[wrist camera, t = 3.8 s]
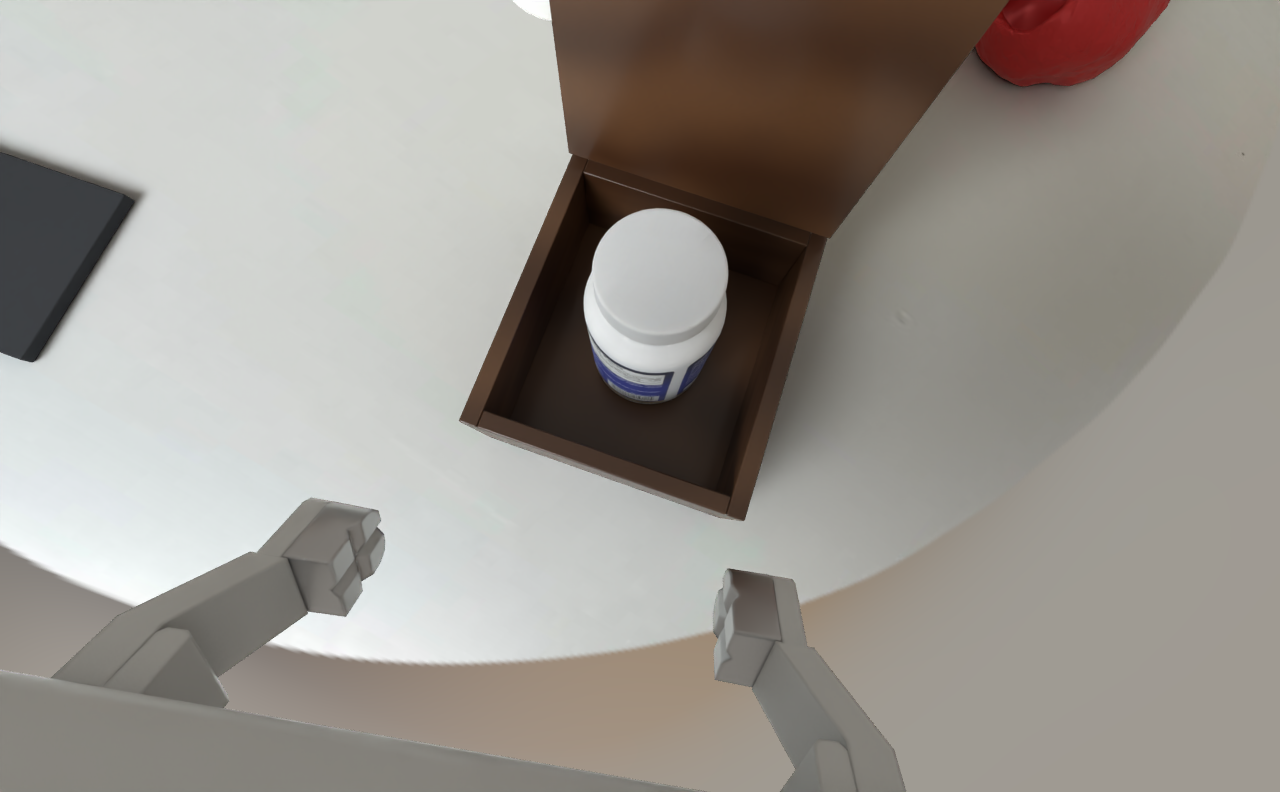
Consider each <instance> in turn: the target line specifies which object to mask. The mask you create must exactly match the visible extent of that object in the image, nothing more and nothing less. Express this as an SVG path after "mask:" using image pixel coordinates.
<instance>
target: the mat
mask: <svg viewBox="0 0 1280 792" xmlns="http://www.w3.org/2000/svg"><path fill="white" fill-rule="evenodd" d="M133 202H134V200H133V199H131V198H130V197H128V196H126V195H124V194H121V193H118V192H116V191H113V190H110V189H107V188H104V187H101V186H98V185H95V184H92V183H89V182H86V181H83V180H81V179H78V178H75V177H72V176H69V175H66V174H63V173H60V172H57V171H54V170H51V169H48V168H46V167H43V166H40V165H37V164H34V163H31V162H28V161H25V160H22V159H19V158H16V157H14V156H11V155H8V154H5V153H2V152H0V352H1V353H3V354H6V355H9V356H12V357H15V358H17V359H20V360H24V361H28V362H34V361H35V359H36V357H37V356H38V354H39V353H40V351H41V349H42V348H43V346H44V345H45V343H46V341H47V340H48V338H49V337H50V335H51V333H52V332H53V330H54V329H55V327H56V325H57V324H58V322H59V321H60V319H61V317H62V316H63V314H64V313H65V311H66V309H67V308H68V306H69V305H70V303H71V302H72V300H73V298H74V297H75V295H76V294H77V292H78V290H79V289H80V287H81V286H82V284H83V282H84V281H85V279H86V278H87V276H88V274H89V273H90V271H91V270H92V268H93V266H94V265H95V263H96V262H97V260H98V258H99V257H100V255H101V254H102V252H103V250H104V249H105V247H106V246H107V244H108V242H109V241H110V239H111V238H112V236H113V234H114V233H115V231H116V230H117V228H118V226H119V225H120V223H121V222H122V220H123V218H124V217H125V215H126V214H127V212H128V210H129V209H130V207H131V206H132V204H133Z"/></svg>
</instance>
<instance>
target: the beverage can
mask: <svg viewBox="0 0 1280 792" xmlns="http://www.w3.org/2000/svg"><path fill="white" fill-rule="evenodd" d="M513 1H514V2H515V3H516V4H517V5H518V6H519V7H520V8H521V9H523V10H524V11H526V12H527V13H529V14H531V15H533V16H535V17H538V18H540V19H543V20H547V21H552V19H551V11H550V4H549V0H513Z"/></svg>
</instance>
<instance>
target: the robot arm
mask: <svg viewBox="0 0 1280 792" xmlns="http://www.w3.org/2000/svg"><path fill="white" fill-rule="evenodd" d="M380 521H381V518H380V515H379V511H378V510H374V509H369V508H364V507H359V506H354V505H349V504H344V503H338V502H333V501H328V500H322V499H317V498H309V499H308V500H306V501H304V502H303V503H302V504H301V505H300V506H299V507H298V508H297V509H296V510H295V511H294V512H293V513H292V515H291V516H290V517H289V518H288V519H287V520H286V521H285V522H284V523H283V524H282V525H281V527H280V528H279V529H278V530H277V531H276V532H275V533H274V534H273V535H272V536H271V537H270V539H269V540H268V541H267V542H266V543H265V544H264V545H263V546H262V547H261V548H260V549H259V551H258V552H257V553H255V552H248V553H246V554H244V555H242V556H240V557H238V558H236V559H234V560H232V561H230V562H228V563H226V564H223V565H221V566H219V567H217V568H215V569H213V570H211V571H209V572H207V573H205V574H203V575H201V576H198V577H196V578H194V579H192V580H190V581H188V582H186V583H184V584H182V585H180V586H178V587H176V588H174V589H171V590H169V591H167V592H165V593H163V594H161V595H159V596H157V597H155V598H153V599H151V600H149V601H147V602H144V603H142V604H140V605H138V606H136V607H134V608H132V609H130V610H128V611H126V612H124V613H122V614H120V615H117V616H116V617H115V618H114V619H113V620H112V621H111V622H110V623H109V624H108V625H107V626H106V627H104V628H103V629H102V630H101V631H100V632H99V633H98V634H97V635H96V636H95V637H94V638H93V639H92V640H91V641H90V642H88V643H87V644H86V645H85V646H84V647H83V648H82V649H81V650H80V651H79V652H78V653H77V654H76V655H75V656H74V657H73V658H72V659H70V660H69V661H68V662H67V663H66V664H65V665H64V666H63V667H62V668H61V669H60V670H59V671H58V672H57V673H55V674H54V675H53V676H52V677H51V678H46V677H40V676H35V675H29V674H23V673H17V672H11V671H5V670H0V792H705V791H699V790H694V789H688V788H682V787H677V786H670V785H665V784H659V783H654V782H648V781H642V780H636V779H630V778H625V777H618V776H613V775H607V774H601V773H595V772H590V771H584V770H578V769H573V768H567V767H561V766H555V765H550V764H544V763H538V762H532V761H526V760H521V759H515V758H509V757H503V756H498V755H492V754H486V753H480V752H474V751H469V750H463V749H457V748H451V747H446V746H440V745H434V744H428V743H422V742H417V741H411V740H405V739H400V738H394V737H388V736H382V735H376V734H370V733H365V732H358V731H353V730H347V729H342V728H336V727H330V726H324V725H318V724H312V723H307V722H301V721H295V720H289V719H283V718H278V717H272V716H266V715H260V714H255V713H249V712H243V711H237V710H232V709H226V708H224V707H225V706H226V704H227V703H228V701H229V700H228V694H227V692H226V691H225V689H224V687H223V686H222V684H221V682H220V681H219V679H218V677H219V676H220V675H222V674H223V673H225V672H226V671H228V670H229V669H231V668H232V667H233V666H235V665H236V664H237V663H239V662H240V661H242V660H243V659H245V658H246V657H247V656H249V655H250V654H252V653H253V652H254V651H256V650H257V649H259V648H260V647H261V646H263V645H264V644H266V643H267V642H269V641H270V640H271V639H273V638H274V637H276V636H277V635H278V634H280V633H281V632H283V631H284V630H285V629H287V628H288V627H290V626H291V625H292V624H294V623H295V622H297V621H298V620H300V619H301V618H302V617H304V616H305V615H307V614H308V612H307V611H309V612H316V613H323V614H330V615H337V616H344V617H346V616H347V614H348V613H349V611H350V610H351V608H352V607H353V605H354V603H355V602H356V600H357V599H358V597H359V596H360V594H361V593H362V591H363V590H362V583H361V581H363V580H364V579H366V578H368V577H369V576H371V575H373V574H374V572H375V571H376V569H377V567H378V566H379V564H380V562H381V559H382V556H383V554H384V551H385V537H384V534H383V533H382V532H381V531H380V530H379V529H378V528H377V526H378V524H379V523H380ZM713 632H714V634H715V635H716V637H717V638H718V641H717V643H716V646H715V649H714V671H715V680H718V681H723V682H728V683H733V684H738V685H744V686H748V687H753V688H752V690H753V692H754V694H755V696H756V698H757V699H758V701H759V703H760V705H761V707H762V709H763V711H764V712H765V714H766V716H767V718H768V720H769V722H770V723H771V725H772V727H773V729H774V731H775V733H776V734H777V736H778V738H779V740H780V742H781V744H782V745H783V747H784V749H785V751H786V753H787V754H788V756H789V758H790V760H791V762H792V764H793V765H794V767H795V769H796V770H795V771H794V773H793V774H792V776H791V777H790V778H789V780H788V781H787V783H786V784H785V786H784V787H783V788H782V790H781V791H780V792H906V790H905V786H904V782H903V779H902V775H901V772H900V769H899V765H898V761H897V758H896V754H895V751H894V749H893V748H892V747H891V745H890V744H889V743H888V741H887V740H886V739H885V738H884V736H883V735H882V734H881V732H880V731H879V730H878V729H877V728H876V726H875V725H874V724H873V722H872V721H871V720H870V718H869V717H868V716H867V715H866V713H865V712H864V711H863V710H862V708H861V707H860V706H859V704H858V703H857V702H856V701H855V699H854V698H853V697H852V696H851V694H850V693H849V692H848V690H847V689H846V688H845V687H844V685H843V684H842V683H841V682H840V681H839V679H838V678H837V677H836V675H835V674H834V673H833V671H832V670H831V669H830V668H829V666H828V665H827V664H826V662H825V661H824V660H823V659H822V657H821V656H820V655H819V654H818V652H817V651H816V650H815V649H814V648H812V647H808V646H807V642H806V636H805V631H804V626H803V621H802V616H801V611H800V605H799V600H798V595H797V590H796V585H795V582H794V581H793V579H788V578H782V577H776V576H770V575H767V574H760V573H754V572H748V571H741V570H735V569H727V570H726V571H725V574H724V576H723V588H722V589H720V590H719V591H718V594H717V597H716V601H715V607H714V615H713Z"/></svg>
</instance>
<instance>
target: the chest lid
mask: <svg viewBox="0 0 1280 792" xmlns="http://www.w3.org/2000/svg"><path fill="white" fill-rule="evenodd" d="M1008 2H1009V0H549V4H550V11H551V19H552V27H553V34H554V42H555V50H556V57H557V65H558V73H559V80H560V88H561V96H562V103H563V111H564V119H565V126H566V134H567V142H568V149H569V153H571V154H574V155H577V156H580V157H583V158H586V159H589V160H592V161H595V162H598V163H601V164H604V165H607V166H610V167H613V168H616V169H619V170H622V171H625V172H629V173H632V174H635V175H638V176H641V177H644V178H647V179H650V180H653V181H656V182H659V183H662V184H665V185H668V186H671V187H674V188H677V189H680V190H683V191H686V192H690V193H693V194H696V195H699V196H702V197H705V198H708V199H711V200H714V201H717V202H720V203H723V204H726V205H729V206H732V207H735V208H738V209H741V210H744V211H747V212H750V213H754V214H757V215H760V216H763V217H766V218H769V219H772V220H775V221H778V222H781V223H784V224H787V225H790V226H793V227H796V228H799V229H802V230H805V231H808V232H811V233H814V234H818V235H821V236H824V237H827V238H831V237H832V235H833V234H834V233H835V231H836V230H837V229H838V227H839V226H840V225H841V223H842V222H843V221H844V219H845V218H846V217H847V215H848V214H849V213H850V211H851V210H852V209H853V207H854V206H855V205H856V203H857V202H858V201H859V199H860V198H861V197H862V195H863V194H864V193H865V191H866V190H867V189H868V187H869V186H870V185H871V183H872V182H873V181H874V179H875V178H876V177H877V175H878V174H879V173H880V171H881V170H882V169H883V168H884V166H885V165H886V164H887V162H888V161H889V160H890V158H891V157H892V156H893V154H894V153H895V152H896V150H897V149H898V148H899V146H900V145H901V144H902V142H903V141H904V140H905V138H906V137H907V136H908V134H909V133H910V132H911V130H912V129H913V128H914V126H915V125H916V124H917V122H918V121H919V120H920V118H921V117H922V116H923V114H924V113H925V112H926V110H927V109H928V108H929V106H930V105H931V104H932V102H933V101H934V100H935V98H936V97H937V96H938V94H939V93H940V92H941V90H942V89H943V88H944V87H945V85H946V84H947V83H948V81H949V80H950V79H951V77H952V76H953V75H954V73H955V72H956V71H957V69H958V68H959V67H960V65H961V64H962V63H963V61H964V60H965V59H966V57H967V56H968V55H969V53H970V52H971V51H972V49H973V48H974V47H975V45H976V44H977V43H978V41H979V40H980V39H981V37H982V36H983V35H984V33H985V32H986V31H987V29H988V28H989V27H990V25H991V24H992V23H993V21H994V20H995V19H996V17H997V16H998V15H999V13H1000V12H1001V11H1002V9H1003V8H1004V7H1005V6H1006V4H1007V3H1008Z"/></svg>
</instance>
